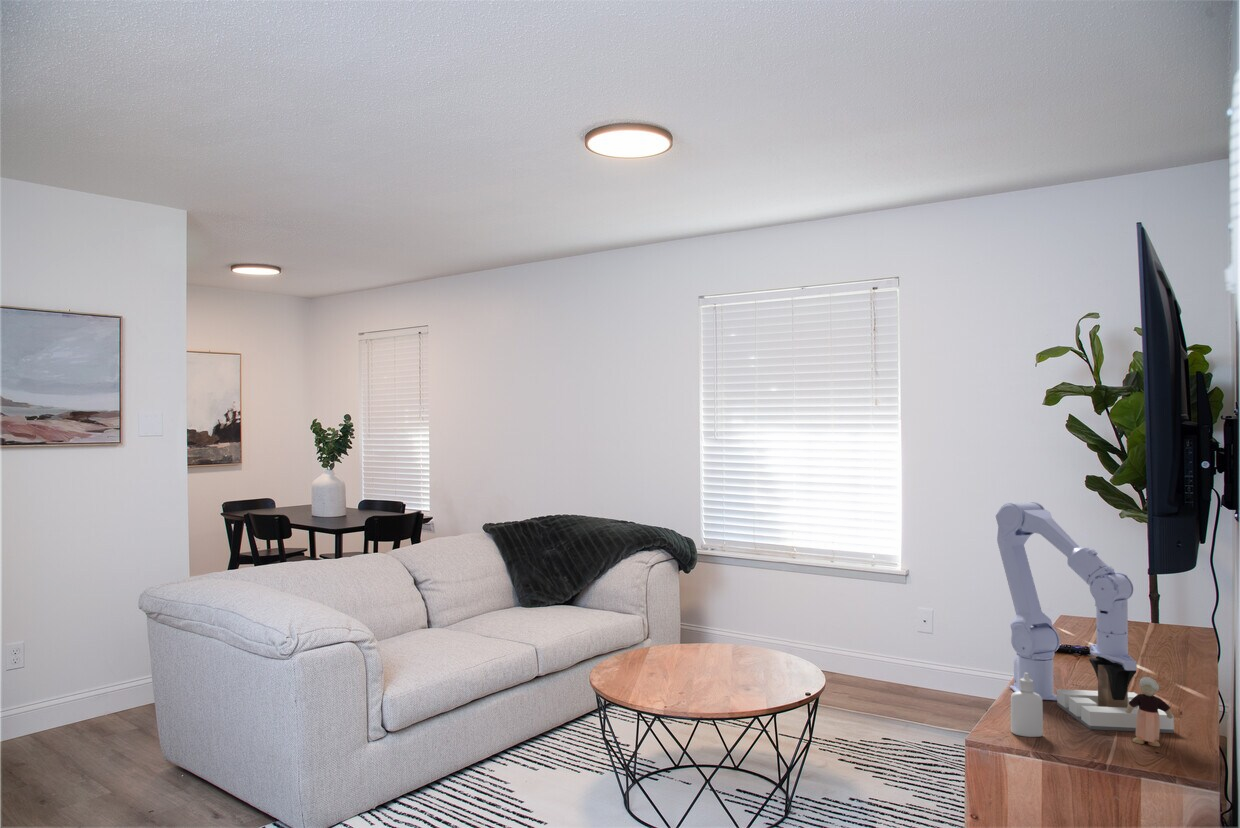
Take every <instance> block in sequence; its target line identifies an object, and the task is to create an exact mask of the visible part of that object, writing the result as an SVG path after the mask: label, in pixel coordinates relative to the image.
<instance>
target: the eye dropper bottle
mask: <svg viewBox="0 0 1240 828" xmlns="http://www.w3.org/2000/svg"><path fill="white" fill-rule="evenodd" d="M1043 705H1044V704H1043V700H1042V697H1041V696H1040V695H1039V694H1037V693H1035V692H1033V680H1031V679H1030V678H1029V674H1028V673H1024V677H1023V678H1022V679H1020V691H1016V692H1015V691H1014V692H1012V693H1011V695H1010V731H1011V732H1012V733H1013V734H1014V735H1016V736H1020V737H1027V738H1033V737H1034V738H1037V737H1038V738H1039V737H1042V736H1044V731H1043V730H1044V727H1043V726H1044V725H1043V724H1044V719H1043V718H1044V716H1043V715H1044V713H1043V711H1044V710H1043V707H1044V706H1043Z"/></svg>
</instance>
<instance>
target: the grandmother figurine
mask: <svg viewBox="0 0 1240 828" xmlns="http://www.w3.org/2000/svg"><path fill="white" fill-rule="evenodd" d="M1138 684H1139V688H1140V691H1141V692H1142V693H1139V694H1138V693H1137V696H1135V697H1134V698H1133V699H1132V700H1131V701H1130V702H1129V704H1128V706H1127V708H1126V712H1127V713H1131V712H1132V710H1133V708H1134V707H1136V706H1139V709H1138V712H1137V719H1136V731H1135V736H1136V737H1134V738H1133V739H1132V742H1133V743H1135V744H1140V745H1142V744H1145V743H1146V742H1148V743H1147V744H1148V745H1150V746H1153V747H1161V744H1160V742H1159V740H1160V733H1159V731H1160V722H1159V713H1158V709H1160V710H1162V711H1164V712H1165V713H1166V714H1167V717H1168V718H1170V719H1171V718H1173V715H1174V714H1173V713H1172V710H1171V707H1170V706H1169V704H1167V703H1166V702H1165V701H1164V700H1163V699H1161V698H1159V697H1158V696H1155V695H1156V693H1157V692H1158V691H1159V690H1160V686H1159V684H1158V683H1157V681H1156V680H1155V679H1153V678H1151V677H1150V676H1142V677H1141V678H1140V680H1139V683H1138Z"/></svg>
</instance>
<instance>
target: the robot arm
mask: <svg viewBox="0 0 1240 828" xmlns="http://www.w3.org/2000/svg"><path fill="white" fill-rule="evenodd" d="M995 518H996V520H995V521H996V523H997V527H998V528H997V537H996V538H997V539H996V541H997V545H998V549H999V550H998V551H999V554H1000V557H1001V561H1002V565H1003V568H1004V572H1005V573H1004V574H1005V576H1006V581H1007V585H1008V588H1009V592H1010V595H1011V599H1012V604H1013V607H1014V612H1015V617H1014V618H1013V619H1012V621H1011V623H1010V624H1009V625H1010V629H1011V636H1010V641H1011V642H1010V643H1011V647H1012V648H1013V650H1014V651H1015V652H1016V656H1015V657H1014V661H1013V685H1012V684H1011V685H1009V688H1010V689H1011V690H1012V691H1014V692H1016V691H1020V679H1022V678H1023V677H1024V673H1028V674H1029V678H1030V679H1031V680H1033V692H1035V693H1037V694H1039V695H1040V696H1041V697H1042V701H1044V700H1045V701H1057V694H1055V693H1054V658H1055V652H1057V650H1058V649H1059V648H1060V646H1061V637H1060V635H1059V633H1058V631H1057V630H1056V629H1055V627H1054V625H1053V623H1052V619H1051V618H1050V617H1049V616H1048V615H1046V614H1045V613H1044V612H1043V610H1042V607H1041V604H1040V601H1039V600H1040V599H1039V597H1038V593H1037V589H1036V586H1035V581H1034V577H1033V575H1032V571H1031V566H1030V563H1029V562H1030V561H1029V559H1028V555H1027V551H1026V547H1025V544H1026V543H1027V541H1028V540H1029V539H1030V537H1031V536H1033V534H1037V535H1038V534H1039V535H1041V536H1042V537H1043V538H1044V539H1045V540H1047V542H1049V543H1050V544H1052V546H1053V547H1054V548H1056V549H1057V550H1058V551H1060V553H1062V554H1063V555H1064V556H1065V557H1066V558H1067V566H1068V567H1069V568H1070V569H1071V570H1072V571H1073V572H1074V573H1075V574H1077V576H1078V577H1079V578H1081V579H1082V580H1083V581H1084V582H1085V583H1086V585H1088V586H1089V591H1090V594H1091V596H1092V598H1093V600H1094V601H1095V602H1094V606H1095V607H1096V614H1095V615H1096V617H1095V618H1096V643H1095V644H1094V643H1093V644H1092V643H1091V644H1089V653H1090V654H1091V655H1092V656H1095V657H1090V658H1089V659H1088V661H1089V662H1090V665H1091V666H1092V668H1093V670H1094V673H1095V675H1096V678H1097V680H1098V665H1104V667H1105V669H1106V671H1107V674H1108V677H1109V680H1110V687H1111V694H1112V698H1113V699H1114V700H1124V699H1125V696H1126V692H1127V689H1128V688H1129V686H1130V683H1131V681H1132V679H1133V677H1134V676H1135V674H1136V673H1137V660H1135V659H1133V657H1132V656H1131V655H1130V654H1129V642H1128V641H1129V637H1128V636H1129V632H1128V631H1129V629H1128V628H1129V623H1128V617H1129V616H1128V614H1129V613H1128V608H1129V607H1128V604H1129V603H1128V600H1129V599H1130V598H1131V597H1132V596H1133V593H1134V585H1133V583H1132V581H1131V579H1130V578H1129V577H1128V575H1127V574H1125V573H1123V572H1116V571H1115V569H1114V568H1113V567H1112V566H1109V565H1108V564H1107V563H1105V562H1104V561H1103V560H1102V559H1101V557H1099V556H1098V552H1097V551H1096V550H1095V549H1092V548H1089V547H1085V546H1083V547H1080V546H1079V545H1078V544H1077V542H1076V541H1075V540H1074V539H1073V538H1072V537H1071V536H1070V535H1069V534H1067V532H1066V531H1065V530H1064V529H1063V528H1062V527H1061V526H1060V525H1059V524H1058V523H1057V522H1056V521H1055V519H1054V518H1053V517H1052V513H1051V512H1050V511H1049V510H1047V509H1045V507H1044V506H1043V505H1042V504H1041V503H1039V502H1035V501H1034V502H1033V501H1032V502H1026V503H1025V502H1024V503H1023V502H1021V503H1020V502H1019V503H1017V502H1016V503H1013V502H1007V503H1003V505H1002V506H1001V507H1000V508H999V510H998V511H997V513H996V514H995Z"/></svg>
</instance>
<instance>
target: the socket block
mask: <svg viewBox="0 0 1240 828" xmlns="http://www.w3.org/2000/svg"><path fill="white" fill-rule="evenodd" d="M1056 692H1057V693H1056V696H1057V700H1056V701H1057V702H1056V703H1057V706H1058V707H1059V708H1060V709H1062V710H1063V711H1065V712H1066V713H1067V714H1069V715H1070V716H1071V717H1073V719H1075V720H1077V721H1078V722H1079V723H1080V724H1082V725H1084V727H1086V728H1088V729H1089V730H1094V731H1095V730H1099V731H1118V732H1119V731H1120V732H1121V731H1123V732H1136V719H1137V712H1138V709H1139V706H1136V707H1134V708H1133V710H1132V712H1131V713H1127V712H1126V708H1122V707H1099V706H1098V690H1087V689H1086V690H1085V689H1066V688H1062V689H1060V688H1057V691H1056ZM1137 695H1138V693H1136V692H1134V691H1133V692H1129V691H1128V704H1129V702H1130V701H1131V700H1132V699H1133V698H1134V697H1135V696H1137ZM1158 713H1159V722H1160V731H1159V734H1160V733H1164V734H1175V717H1174V716H1175V715H1174V714H1172V715H1173V718H1171V719H1170V718H1168V717H1167V714H1166V713H1165V712H1164V711H1162V710H1160V709H1158Z"/></svg>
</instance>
